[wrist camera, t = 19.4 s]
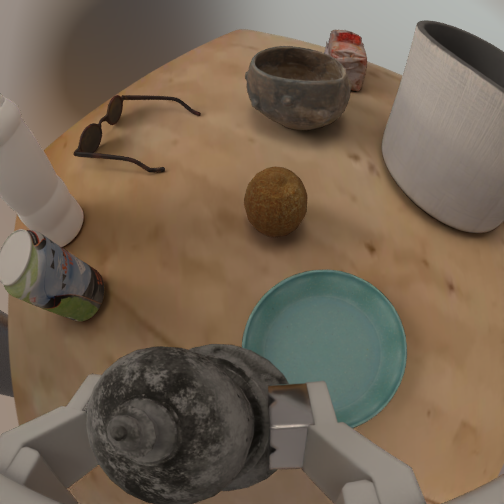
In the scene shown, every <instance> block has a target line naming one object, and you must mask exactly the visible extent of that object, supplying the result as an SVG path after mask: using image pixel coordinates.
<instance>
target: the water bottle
mask: <svg viewBox="0 0 504 504" xmlns="http://www.w3.org/2000/svg"><path fill="white" fill-rule="evenodd" d="M0 197H1V198H2V199H3V201H4V202H5V203H6V204H7V205H8V206H9V207H10V208H11V209H13V210H14V211H15V212H16V213H17V215H18V216H19V218H20V219H21V221H22V222H23V223H24V224H25V225H26V226H27V227H28V228H29V229H31V230H35V231H38V232H40V233H41V234H43V235H44V236H46V237H47V238H48V239H50V240H51V241H53V242H54V243H56V244H57V245H59V246H60V247H63V246H65V245H67V244H68V243H70V242H71V241H72V240H73V239H74V238H75V237H76V235H77V234H78V232H79V231H80V229H81V226H82V223H83V218H84V216H83V211H82V208H81V207H80V205H79V204H78V202H77V201H76V200H75V198H74V197H73V196H72V195H71V194H70V193H69V191H68V189H67V187H66V185H65V184H64V182H63V181H62V179H61V178H60V177H59V176H58V175H56V173H55V171H54V169H53V167H52V165H51V163H50V161H49V159H48V158H47V156H46V154H45V153H44V151H43V149H42V148H41V146H40V144H39V143H38V141H37V140H36V138H35V136H34V135H33V133H32V132H31V130H30V129H29V127H28V126H27V124H26V123H25V121H24V120H23V119H22V117H21V112H20V109H19V107H18V106H17V105H16V104H15V103H14V102H13V101H11V100H9V99H8V98H6V97H3V96H2V94H0Z"/></svg>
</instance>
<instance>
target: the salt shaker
mask: <svg viewBox="0 0 504 504" xmlns="http://www.w3.org/2000/svg"><path fill="white" fill-rule="evenodd" d="M277 384H289V383H288V381H287V379H286V378H285V376H284V375H283V373H281V372H280V371H279V370H278V369H277V368H276V367H275V366H274V365H273V364H272V363H271V362H270V361H269V360H267V359H266V358H264V357H262V356H260V355H259V354H257V353H255V352H253V351H252V350H248V349H245V348H241V347H238V346H234V345H224V344H209V345H205V346H200V347H195V348H191V349H189V350H186V349H183V348H174V347H151V348H146V349H140V350H136V351H134V352H132V353H130V354H128V355H126V356H123V357H121V358H119V359H118V360H117V361H116V362H115V363H113V364H112V365H111V366H110V367H109V368H108V369H107V370H105V371H104V373H103V374H102V376H101V377H100V379H99V380H98V382H97V383H96V385H95V386H94V388H93V391H92V394H91V397H90V400H89V403H88V408H87V421H86V426H87V432H88V438H89V443H90V446H91V449H92V451H93V453H94V456H95V458H96V460H97V462H98V464H99V465H100V467H101V468H102V469H103V471H104V472H105V473H106V474H107V476H108V477H109V478H110V480H111V481H113V482H114V483H115V484H116V485H118V486H119V487H120V488H121V489H123V490H124V491H125V492H126V493H128V494H130V495H132V496H134V497H136V498H138V499H141V500H143V501H145V502H148V503H153V504H194V503H197V502H199V501H202V500H205V499H207V498H210V497H213V496H215V495H216V494H218V493H219V492H220V491H230V490H237V489H242V488H248V487H250V486H252V485H254V484H257V483H259V482H261V481H263V480H265V479H267V478H268V477H269V476H271V475H272V474H273V473H274V472H275V471H277V470H278V469H273V470H269V409H268V385H277Z"/></svg>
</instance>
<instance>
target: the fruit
mask: <svg viewBox="0 0 504 504" xmlns="http://www.w3.org/2000/svg"><path fill="white" fill-rule="evenodd" d="M244 206H245V210H246V213H247V217H248V220H249V221H250V223H251V224H252V225H253V226H254V227H255V228H256V230H258V231H259V232H261V233H263V234H265V235H267V236H271V237H280V236H285V235H287V234H289V233H290V232H292V231H293V230H295V229H297V227H298V226H299V225H300V223H301V222H302V220H303V218H304V217H305V214H306V211H307V193H306V190H305V187H304V185H303V183H302V181H301V180H300V178H299V177H298V176H297V175H295V174H294V173H293V172H292V171H290V170H288V169H285V168H282V167H271V168H267V169H265V170H263V171H261V172H259V173H257V174H256V176H255V177H254V178H253V179H252V180H251V182H250V183H249V184H248V187H247V190H246V194H245V199H244Z"/></svg>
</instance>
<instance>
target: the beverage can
mask: <svg viewBox="0 0 504 504" xmlns="http://www.w3.org/2000/svg"><path fill="white" fill-rule="evenodd" d="M0 282H1V283H2V284H3V285H4V287H5V289H6V290H7V292H8V293H9V294H10V295H12V296H13V297H16V298H18V299H20V300H23V301H25V302H28V303H30V304H33V305H35V306H38V307H40V308H43V309H45V310H48V311H50V312H53V313H56V314H58V315H61V316H64V317H66V318H69V319H72V320H75V321H85V320H87V319H89V318H91V317H92V316H93V315H94V314H95V313H96V312H97V311H98V309H99V308H100V306H101V303H102V301H103V297H104V283H103V279H102V277H101V275H100V274H99V272H98V271H97V270H95V269H94V268H92V267H91V266H89V265H87V264H86V263H84V262H83V261H81V260H80V259H78V258H77V257H75V256H74V255H72V254H71V253H69V252H68V251H66V250H65V249H63V248H62V247H60V246H59V245H57V244H56V243H54V242H53V241H51V240H50V239H48V238H47V237H46V236H44V235H43V234H41V233H40V232H38V231H35V230H27V231H26V230H23V229H20V230H17V231H15V232H13V233H12V234H11V235H10V236H9V237H8V238H7V239H6V241H5V242H4V244H3V246H2V247H1V250H0Z"/></svg>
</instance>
